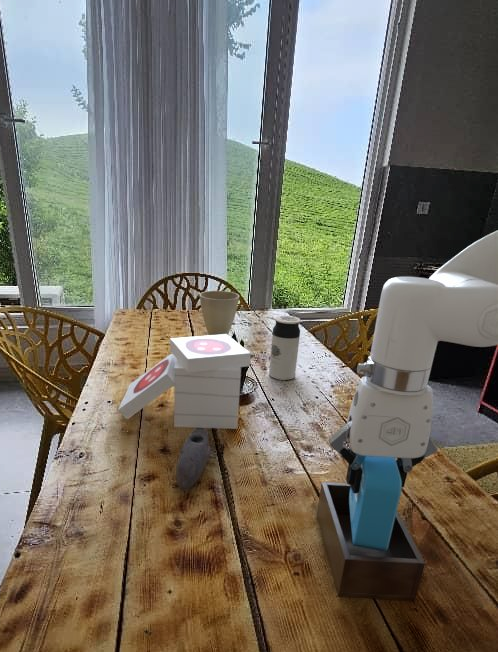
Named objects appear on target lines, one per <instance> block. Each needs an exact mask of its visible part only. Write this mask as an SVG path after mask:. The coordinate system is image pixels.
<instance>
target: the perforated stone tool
mask: <svg viewBox="0 0 498 652" xmlns="http://www.w3.org/2000/svg"><path fill="white" fill-rule="evenodd" d="M179 452H180V453H179V455H178V459H177V463H176V474H175V475H176V482H177V487H178V489H179V490H180V491H182V492H186V491H188V490H190V489H191V488H193V487H194V486H195V484H196V483H197V482H198V481H199V479H200V477H201V476H202V474H203V472H204V469H205V467H206V465H207V463H208V461H209V457H210V455H211V445H210V438H209V434H208V431H207V430H206V429H203V428H193V430H192V431H191V432H190V434H188V436H187V438H186V440H185V441H184V443H183V445H182V448H181V450H180V451H179Z"/></svg>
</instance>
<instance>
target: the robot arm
mask: <svg viewBox="0 0 498 652" xmlns="http://www.w3.org/2000/svg"><path fill="white" fill-rule="evenodd" d="M380 293H381V294H380V299H379V304H378V309H377V315H376V320H375V327H374V332H373V337H372V342H371V349H370V355H369V356H367V360H366V362H363V363H357V366H356V373H357V374H360V375H361V374H362V375H363V376H362V377H361V379H360V381H359V382H358V385H357V388H356V389H355V392H354V395H353V398H352V401H351V405H350V408H349V412H348V416H347V419H346V424H345V425H343V426H342V427H341V428H340V429H339V430H337V431H336V432H334V434H333V435H331V436H330V437H329V438H328V442H329V446H330V447H331V448H332V449H333V450H334V451H335V452H336V453H338V454H339V455H341V458H343V460H344V461H345V462H347V464H348V465H347V470H346V478H345V481H346V483H347V484H349V485H350V486H351V489H352V491H353V493H359V488H360V483H361V478H362V472H363V470H362V468H361V464H362V462H363V461H364V459H365V457H366V456H372V457H390V458H395V459H396V462H397V466H398V470H399V473H400V477H401V481H402V488H404V487H405V485H406V481H407V476H408V474H409V473H411V472H412V471H413V468H414V467H415V466H417V465H418V464H420V463H421V462H423V461H424V460H425V458H428V457H430V456H432V455H433V454H436V453H437V452H438V449H439V448H438V447H437V445H436V444H435V442H434V441H433V439H432V438H431V436H430V434H431V428H432V422H433V408H434V389H433V388H432V387H431V386H430V385H429V379H430V375H431V371H432V368H433V367H432V366H433V362H434V358H435V353H436V351H437V346H438V342H441V341H442V342H446V343H447V342H448V343H454V344H457V345H458V344H459V345H464V346H468V347H469V346H470V347H477V348H478V347H479V348H487V347H494V346H497V345H498V230H496V231H494V232H491V233H489V234H487V235H485V236H484V237H482V238H479V239H478V240H476V241H474V242H473V243H472V244H470V245H468V246H467V247H466V248H464V249H462V251H460V252H458V253H457V254H456V255H455V256H453V257H452V258H451V259H449V260H448V261H447V262H445V263H444V264H443V265H442V266H440V268H438V269H437V270H436V271H434V273H432V275H430V276H429V278H426V277H420V276H419V277H418V276H395V277H391V278H389V279H388V280H387V281H386V282H385V283H384V284H383V287H382V290H381V292H380ZM347 440H349V447H348V446H347V445H346V444H344V442H347Z"/></svg>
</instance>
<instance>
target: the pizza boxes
mask: <svg viewBox="0 0 498 652" xmlns="http://www.w3.org/2000/svg"><path fill="white" fill-rule="evenodd" d="M169 351H170V352H171V353H170V354H168V355H167V356H166V357H164V358H163V359H162V360H160V361H159V362H158V363H157V364H155V365H153V366H152V367H151V368H150V369H148V370H147V371H145V372H144V373H143V374H142V375H140V376H139V377H138V378H137V379H135V380H134V381H132V382H131V383H130V384H129V385H128V387H127V390H126V392H125V394H124V396H123V398H122V400H121V402H120V405H119V406H118V409H117V411H118V412H119V413H120V414H121V415H122V416H123V417H124V419H126V420H129V419H130V418H131V417H133V416H134V415H136V414H137V413H138V412H139V411H141V410H142V409H144V408H145V407H147V406H148V405H149V404H150V403H152V402H153V401H155V400H156V399H157V398H159V397H160V396H162V395H163V394H165V393H166V392H167V391H168V390H170V389H172V388H173V387H174V389H173V391H174V392H173V393H174V394H173V395H174V396H173V398H174V400H173V402H174V404H173V405H174V407H173V410H174V411H173V412H174V413H173V421H174V422H173V426H174V428H194V429H196V428H199V429H228V430H238V425H239V409H240V408H239V407H240V394H241V376H242V368H244V367H245V368H246V367H250V366H251V354H252V353H251V351H249V350H247V348H245V347H244V346H242V345H241V343H239V342H238V341H236V340H235V339H234V338H233V337H231V335H229V334H228V335H227V334H219V335H208V334H207V335H194V336H181V337H170V338H169Z"/></svg>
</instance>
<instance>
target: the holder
mask: <svg viewBox="0 0 498 652" xmlns="http://www.w3.org/2000/svg"><path fill="white" fill-rule="evenodd" d="M350 488H351V486H350V485H349V484H347V482H331V481H330V482H329V481H321V483H320V489H319V490H320V491H319V496H318V503H317V509H316V516H317V520H318V521H317V522H318V525H319V528H320V531H321V537H322V540H323V543H324V547H325V552H326V555H327V559H328V563H329V567H330V570H331V575H332V579H333V582H334V586H335V590H336V594H337V597H339V598H356V599H372V600H373V599H375V600H391V601H408V602H415V601H416V598H417V595H418V591H419V587H420V585H421V580H422V576H423V573H424V569H425V566H426V562H425V560H424V559H423V557H422V554H421V553H420V551H419V548H418V547H417V545H416V543H415V541H414V540H413V538H412V536H411V534H410V531H409V530H408V528H407V526H406V524H405V522H404V519H403V518H402V516H401V514H400V513H399V510H398V509H397V512H396V517H395V521H394V525H393V529H392V533H391V538H390V542H389V546H388V549H387V550H386V551H381V550H376V549H370V548H365V547H359V546H354V545H353V542H352V530H351V519H350V507H349V494H350Z"/></svg>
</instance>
